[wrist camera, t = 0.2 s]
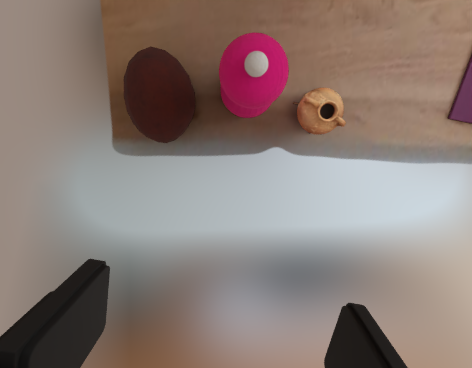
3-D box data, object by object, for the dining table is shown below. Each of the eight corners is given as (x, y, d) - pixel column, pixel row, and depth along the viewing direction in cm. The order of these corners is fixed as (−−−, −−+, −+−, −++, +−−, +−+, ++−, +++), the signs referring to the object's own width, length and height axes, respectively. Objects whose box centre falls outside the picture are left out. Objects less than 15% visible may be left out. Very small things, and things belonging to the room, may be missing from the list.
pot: (330, 129, 39) (330, 85, 37) (353, 138, 32) (354, 83, 29) (292, 134, 39) (289, 91, 37) (305, 145, 32) (303, 91, 30)
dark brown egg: (148, 142, 39) (121, 148, 30) (134, 58, 36) (100, 37, 27) (203, 137, 39) (193, 142, 30) (194, 52, 36) (179, 29, 27)
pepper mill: (228, 123, 38) (219, 124, 19) (217, 73, 37) (194, 18, 17) (275, 112, 38) (315, 101, 19) (265, 61, 36) (299, -10, 17)
